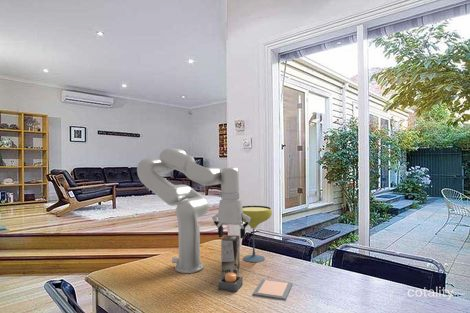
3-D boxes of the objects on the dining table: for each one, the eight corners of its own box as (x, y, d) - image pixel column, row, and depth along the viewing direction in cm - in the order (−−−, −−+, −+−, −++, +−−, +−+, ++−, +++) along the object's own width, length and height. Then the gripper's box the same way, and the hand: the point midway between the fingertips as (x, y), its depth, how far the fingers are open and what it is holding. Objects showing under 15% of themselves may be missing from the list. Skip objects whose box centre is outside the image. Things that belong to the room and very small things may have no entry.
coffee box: (236, 280, 122) (235, 240, 122) (221, 279, 123) (220, 240, 123) (240, 272, 131) (240, 235, 131) (226, 271, 132) (225, 234, 132)
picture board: (252, 295, 108) (252, 293, 108) (262, 280, 121) (262, 278, 121) (285, 300, 104) (285, 298, 104) (292, 284, 117) (292, 282, 117)
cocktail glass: (231, 255, 154) (230, 206, 155) (263, 251, 160) (262, 204, 160) (242, 267, 137) (241, 212, 137) (278, 262, 142) (277, 209, 143)
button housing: (218, 289, 113) (218, 281, 113) (225, 282, 120) (225, 274, 120) (236, 292, 110) (236, 284, 110) (242, 284, 117) (242, 277, 117)
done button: (223, 283, 114) (223, 276, 114) (227, 279, 118) (227, 272, 118) (234, 285, 112) (233, 277, 112) (237, 280, 116) (237, 273, 116)
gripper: (208, 197, 127) (209, 238, 126) (247, 197, 121) (248, 240, 120) (215, 195, 134) (216, 234, 133) (252, 195, 128) (253, 236, 127)
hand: (231, 237), depth 127 cm, fingers open, 9 cm apart
